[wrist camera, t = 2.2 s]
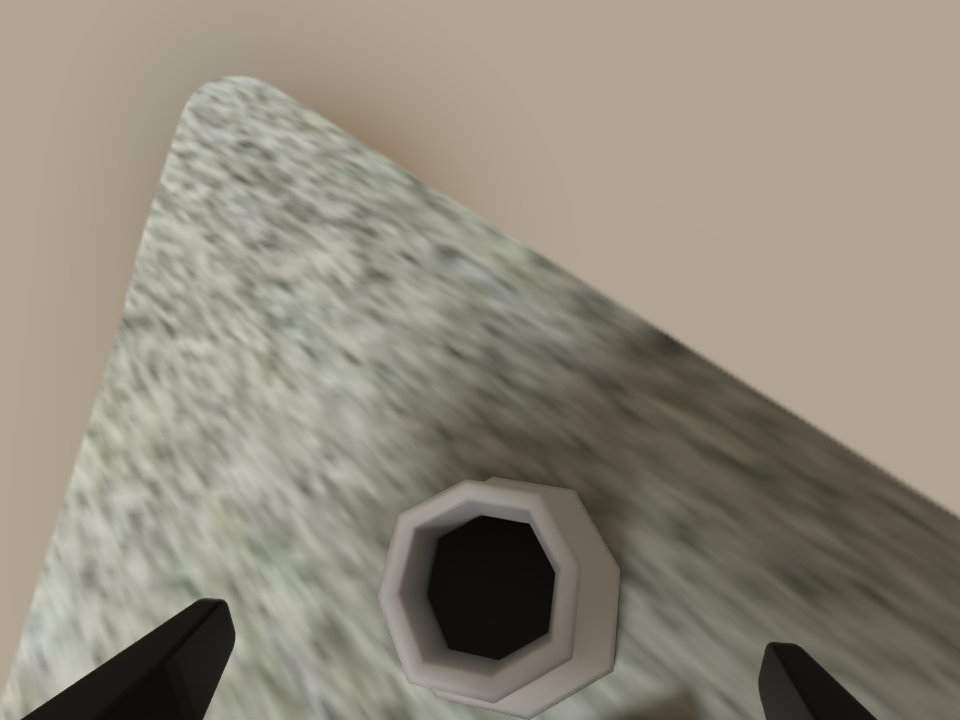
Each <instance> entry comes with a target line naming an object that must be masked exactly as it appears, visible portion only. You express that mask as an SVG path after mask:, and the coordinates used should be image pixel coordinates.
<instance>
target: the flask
mask: <svg viewBox="0 0 960 720" xmlns="http://www.w3.org/2000/svg"><path fill="white" fill-rule="evenodd" d="M620 572H621V570H620V568H619V566H618V564H617V563H616V561H615V559H614V557H613V556H612V554H611V552H610V550H609V549H608V547H607V545H606V544H605V542H604V540H603V538H602V537H601V535H600V533H599V531H598V530H597V528H596V526H595V524H594V523H593V521H592V519H591V517H590V516H589V514H588V512H587V510H586V509H585V507H584V505H583V503H582V502H581V500H580V498H579V496H578V495H577V493H576V491H575V490H573V489H567V488H561V487H555V486H549V485H543V484H537V483H531V482H525V481H519V480H513V479H507V478H501V477H495V476H492V477H491V478H489V479H487V480H485V481H483V482H482V481H476V480H470V479H464V480H462V481H461V482H459V483H457V484H455V485H453V486H451V487H449V488H447V489H445V490H443V491H441V492H439V493H437V494H436V495H434V496H432V497H430V498H428V499H426V500H424V501H422V502H420V503H418V504H416V505H414V506H412V507H411V508H409V509H407V510H405V511H403V512H401V513H399V514H397V517H396V522H395V526H394V530H393V534H392V538H391V543H390V547H389V551H388V555H387V559H386V564H385V568H384V572H383V576H382V580H381V585H380V589H379V593H378V597H377V598H378V601H379V603H380V606H381V609H382V611H383V614H384V617H385V620H386V622H387V625H388V628H389V631H390V633H391V636H392V639H393V641H394V644H395V647H396V650H397V652H398V655H399V658H400V661H401V663H402V666H403V669H404V672H405V674H406V677H407V680H408V682H409V683H410V684H414V685H418V686H422V687H426V688H430V689H433V691H434V694H435V697H437V698H441V699H445V700H449V701H453V702H458V703H462V704H466V705H470V706H474V707H478V708H482V709H486V710H491V711H495V712H499V713H503V714H507V715H511V716H515V717H520V718H524V719H528V720H530V719H532V718H533V717H535V716H537V715H539V714H540V713H542V712H544V711H546V710H547V709H549V708H551V707H552V706H554V705H556V704H558V703H559V702H561V701H563V700H564V699H566V698H568V697H570V696H571V695H573V694H575V693H577V692H578V691H580V690H582V689H583V688H585V687H587V686H589V685H590V684H592V683H594V682H595V681H597V680H599V679H601V678H602V677H604V676H606V675H608V674H609V673H611V672H613V670H614V656H615V642H616V628H617V614H618V600H619V586H620Z"/></svg>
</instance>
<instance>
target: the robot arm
mask: <svg viewBox="0 0 960 720" xmlns="http://www.w3.org/2000/svg"><path fill="white" fill-rule="evenodd" d="M234 644H235V629H234V625H233V622H232V618H231V614H230V611H229V607H228V604H227V602H226V601H225V600H222V599H213V598H203V599H200V600H198V601H196V602H195V603H193V604H192V605H190V606H189V607H187V608H186V609H184V610H183V611H181V612H180V613H178V614H177V615H175V616H174V617H172V618H171V619H169V620H168V621H166V622H165V623H163V624H162V625H160V626H159V627H157V628H156V629H154V630H153V631H151V632H150V633H148V634H147V635H146V636H144V637H143V638H141V639H140V640H138V641H137V642H135V643H134V644H132V645H131V646H129V647H128V648H126V649H125V650H123V651H122V652H120V653H119V654H117V655H116V656H114V657H113V658H111V659H110V660H108V661H107V662H105V663H104V664H102V665H101V666H99V667H98V668H96V669H95V670H94V671H92V672H91V673H89V674H88V675H86V676H85V677H83V678H82V679H80V680H79V681H77V682H76V683H74V684H73V685H71V686H70V687H68V688H67V689H65V690H64V691H62V692H61V693H59V694H58V695H56V696H55V697H53V698H52V699H50V700H49V701H47V702H46V703H45V704H43V705H42V706H40V707H39V708H37V709H36V710H34V711H33V712H31V713H30V714H28V715H27V716H25V717H24V718H22V719H21V720H203V718H204V716H205V714H206V711H207V709H208V707H209V704H210V702H211V699H212V697H213V695H214V692H215V690H216V688H217V685H218V683H219V681H220V678H221V676H222V674H223V671H224V669H225V666H226V664H227V662H228V659H229V657H230V655H231V652H232V650H233V647H234ZM758 686H759V694H760V698H761V702H762V705H763V709H764V713H765V717H766V720H877V719H876V718H875V717H874V716H873V715H872V714H871V713H870V712H869V711H868V710H867V709H866V708H865V707H864V706H862V705H861V704H860V703H859V702H858V701H857V700H856V699H855V698H854V697H853V696H852V695H851V694H850V693H849V692H848V691H847V690H846V689H845V688H844V687H842V686H841V685H840V684H839V683H838V682H837V681H836V680H835V679H834V678H833V677H832V676H831V675H830V674H829V673H828V672H827V671H826V670H825V669H824V668H822V667H821V666H820V665H819V664H818V663H817V662H816V661H815V660H814V659H813V658H812V657H811V656H810V655H809V654H808V653H807V652H806V651H805V650H803V649H802V648H801V647H800V646H798V645H796V644H792V643H781V642H770V643H769V644H768V645H767V646H766V649H765V653H764V657H763V661H762V665H761V670H760V674H759V679H758Z"/></svg>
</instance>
